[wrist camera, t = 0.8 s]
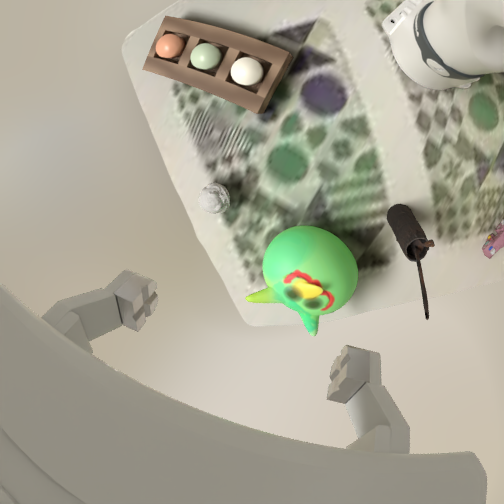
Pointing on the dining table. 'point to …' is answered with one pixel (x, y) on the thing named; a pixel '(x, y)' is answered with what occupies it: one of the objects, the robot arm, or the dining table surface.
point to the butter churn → (410, 240)
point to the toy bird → (308, 273)
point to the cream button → (247, 71)
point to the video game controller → (494, 241)
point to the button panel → (220, 77)
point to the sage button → (206, 56)
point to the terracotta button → (170, 46)
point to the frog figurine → (214, 198)
